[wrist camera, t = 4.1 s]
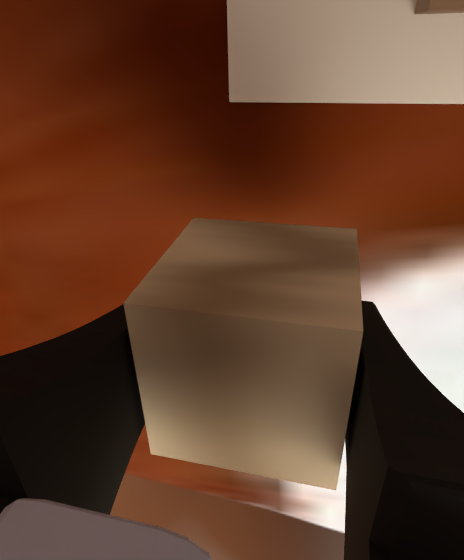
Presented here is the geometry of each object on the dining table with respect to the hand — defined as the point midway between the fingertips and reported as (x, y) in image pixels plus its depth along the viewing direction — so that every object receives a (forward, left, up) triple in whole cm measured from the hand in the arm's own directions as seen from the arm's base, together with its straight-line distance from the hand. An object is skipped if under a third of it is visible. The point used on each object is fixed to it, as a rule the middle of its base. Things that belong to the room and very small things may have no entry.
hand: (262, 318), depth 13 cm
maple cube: (0, 0, -2) cm, 2 cm away
